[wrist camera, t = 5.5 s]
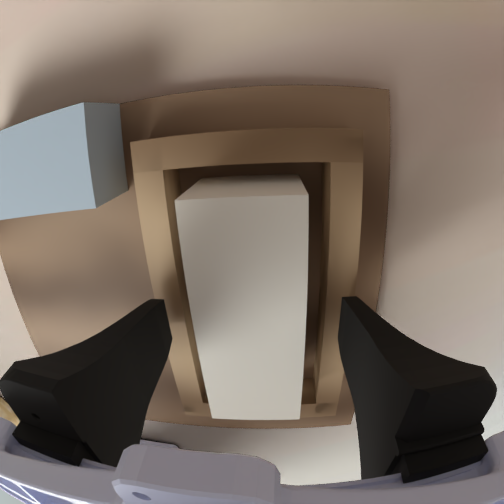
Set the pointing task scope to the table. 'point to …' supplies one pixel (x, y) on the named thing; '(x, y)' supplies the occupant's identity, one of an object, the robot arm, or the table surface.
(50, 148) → the pale blue rectangular block
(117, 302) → the jig
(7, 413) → the hand bell
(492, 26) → the table surface
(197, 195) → the tall white pillar block
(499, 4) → the table surface
